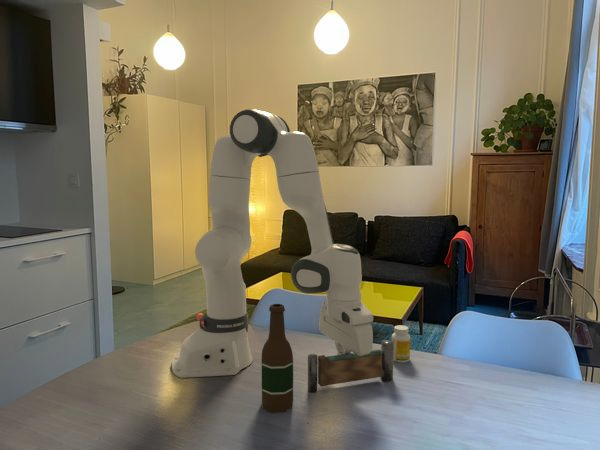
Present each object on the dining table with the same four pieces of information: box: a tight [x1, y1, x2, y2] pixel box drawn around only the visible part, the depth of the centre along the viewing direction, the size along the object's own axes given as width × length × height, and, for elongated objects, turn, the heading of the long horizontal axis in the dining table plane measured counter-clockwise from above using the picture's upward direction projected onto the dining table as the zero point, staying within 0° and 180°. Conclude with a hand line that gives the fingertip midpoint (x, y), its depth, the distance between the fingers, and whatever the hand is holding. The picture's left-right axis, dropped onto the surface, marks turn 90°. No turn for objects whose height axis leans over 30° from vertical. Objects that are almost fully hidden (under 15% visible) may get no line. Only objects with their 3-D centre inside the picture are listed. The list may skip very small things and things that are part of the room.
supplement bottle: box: [390, 324, 411, 364], centre depth 133 cm, size 5×5×10 cm
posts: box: [307, 339, 394, 394], centre depth 117 cm, size 24×3×10 cm, turn 108°
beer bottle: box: [261, 303, 294, 414], centre depth 106 cm, size 8×8×24 cm
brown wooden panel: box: [317, 348, 382, 387], centre depth 117 cm, size 17×2×7 cm, turn 108°
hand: (343, 359), depth 119 cm, fingers closed
